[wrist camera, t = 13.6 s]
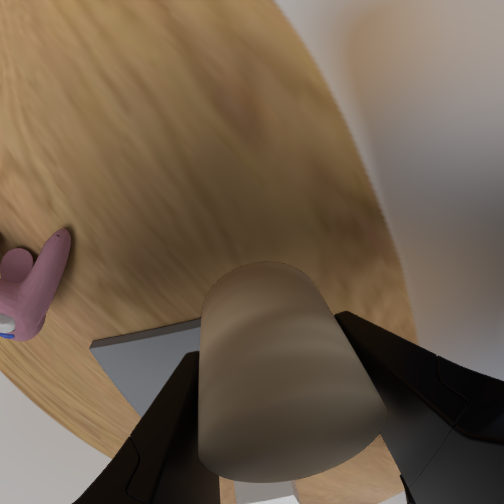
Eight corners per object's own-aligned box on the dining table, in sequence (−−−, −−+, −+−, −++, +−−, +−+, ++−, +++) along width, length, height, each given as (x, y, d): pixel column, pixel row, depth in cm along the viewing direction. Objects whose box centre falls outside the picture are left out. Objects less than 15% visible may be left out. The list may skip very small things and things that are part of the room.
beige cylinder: (312, 246, 9) (398, 360, 4) (325, 342, 10) (377, 452, 6) (184, 280, 9) (163, 422, 4) (221, 369, 10) (231, 491, 6)
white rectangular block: (285, 457, 25) (293, 494, 21) (294, 477, 29) (301, 507, 24) (232, 468, 25) (236, 504, 21) (250, 486, 29) (254, 516, 24)
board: (286, 296, 17) (289, 304, 16) (313, 434, 23) (315, 440, 23) (92, 341, 16) (88, 348, 16) (186, 457, 23) (186, 463, 22)
